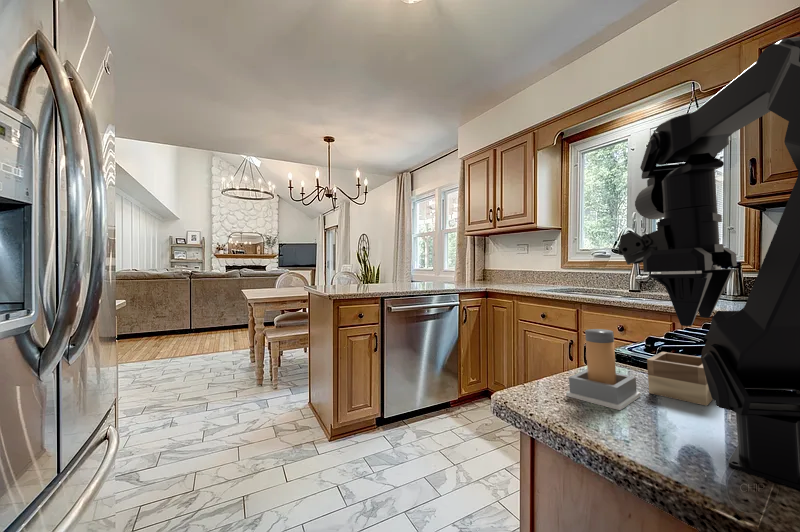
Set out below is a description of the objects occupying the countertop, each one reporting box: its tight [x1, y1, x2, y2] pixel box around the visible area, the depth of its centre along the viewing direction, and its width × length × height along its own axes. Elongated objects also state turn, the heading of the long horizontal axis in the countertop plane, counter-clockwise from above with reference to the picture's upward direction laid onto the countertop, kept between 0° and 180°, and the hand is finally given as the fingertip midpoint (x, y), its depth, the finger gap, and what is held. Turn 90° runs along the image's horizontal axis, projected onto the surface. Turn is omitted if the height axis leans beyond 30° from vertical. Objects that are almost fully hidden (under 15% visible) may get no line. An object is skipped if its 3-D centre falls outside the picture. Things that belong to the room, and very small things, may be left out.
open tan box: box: [646, 351, 713, 406], centre depth 55 cm, size 7×7×6 cm
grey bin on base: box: [565, 368, 642, 411], centre depth 56 cm, size 8×8×3 cm
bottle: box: [584, 328, 617, 385], centre depth 56 cm, size 4×4×10 cm
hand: (696, 321), depth 47 cm, fingers open, 9 cm apart
